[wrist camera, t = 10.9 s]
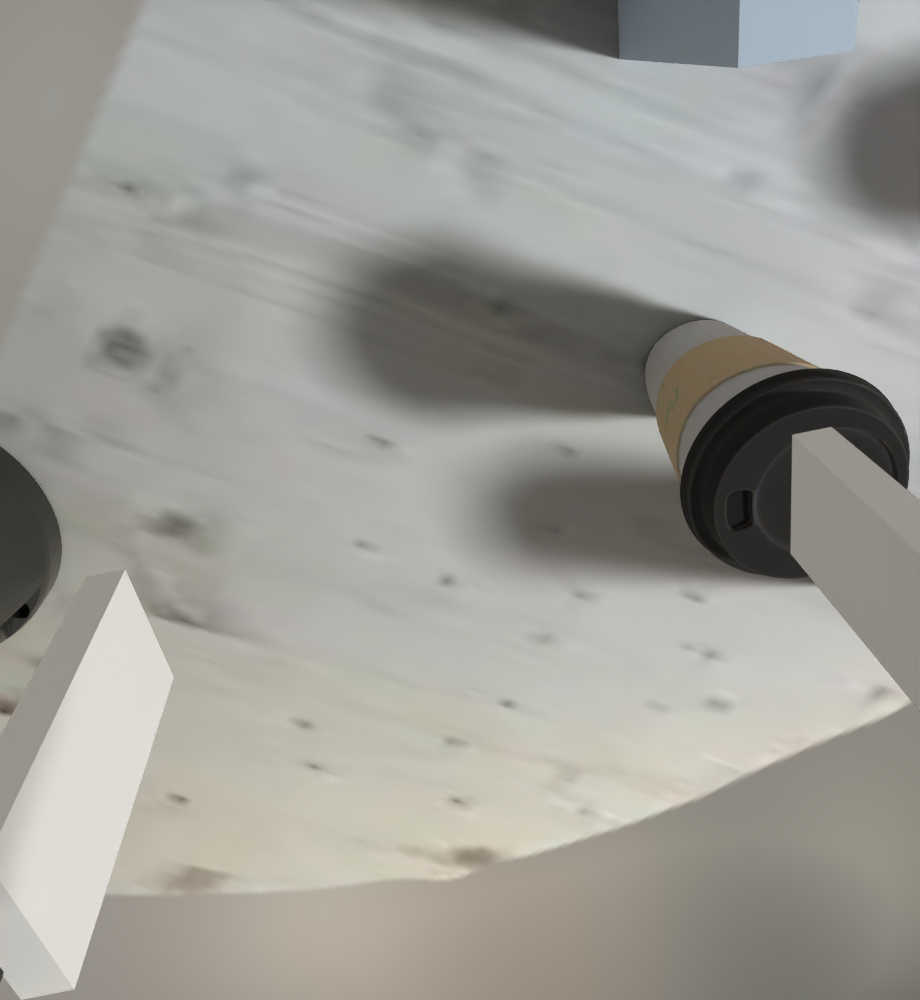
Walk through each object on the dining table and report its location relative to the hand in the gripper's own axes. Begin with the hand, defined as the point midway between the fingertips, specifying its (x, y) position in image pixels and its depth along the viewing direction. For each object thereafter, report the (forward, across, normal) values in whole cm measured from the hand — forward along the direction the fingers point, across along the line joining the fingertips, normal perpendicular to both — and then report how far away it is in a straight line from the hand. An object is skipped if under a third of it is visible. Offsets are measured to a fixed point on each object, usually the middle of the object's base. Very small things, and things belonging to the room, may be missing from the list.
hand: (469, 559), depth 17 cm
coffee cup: (+30, +14, -10) cm, 34 cm away
